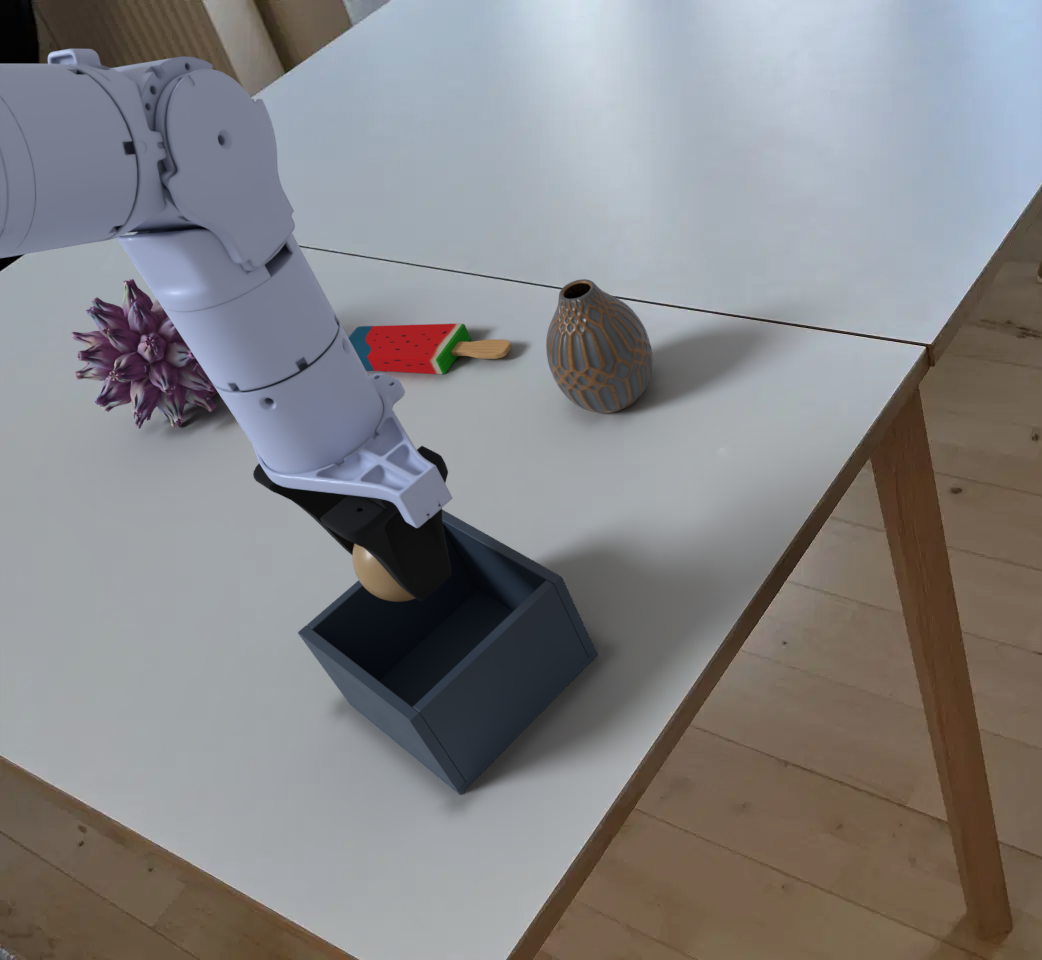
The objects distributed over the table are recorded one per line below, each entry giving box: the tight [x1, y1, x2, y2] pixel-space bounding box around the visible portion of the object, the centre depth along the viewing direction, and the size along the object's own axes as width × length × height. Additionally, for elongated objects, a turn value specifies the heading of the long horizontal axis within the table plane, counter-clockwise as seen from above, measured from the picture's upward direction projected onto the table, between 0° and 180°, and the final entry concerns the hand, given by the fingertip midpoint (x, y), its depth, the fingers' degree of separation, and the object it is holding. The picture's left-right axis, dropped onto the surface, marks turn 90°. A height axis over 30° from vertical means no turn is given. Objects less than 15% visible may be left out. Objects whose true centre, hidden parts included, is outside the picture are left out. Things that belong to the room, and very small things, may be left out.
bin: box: [297, 509, 599, 796], centre depth 58 cm, size 10×10×6 cm
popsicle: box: [348, 323, 512, 375], centre depth 86 cm, size 4×2×15 cm
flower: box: [71, 278, 218, 430], centre depth 86 cm, size 12×12×12 cm
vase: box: [545, 278, 654, 414], centre depth 73 cm, size 7×7×9 cm
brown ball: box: [351, 544, 415, 602], centre depth 54 cm, size 4×4×4 cm
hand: (405, 567), depth 54 cm, fingers closed on brown ball, 4 cm apart
